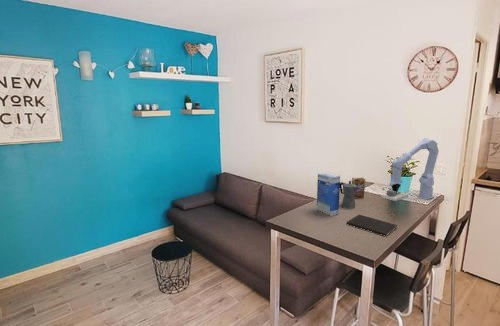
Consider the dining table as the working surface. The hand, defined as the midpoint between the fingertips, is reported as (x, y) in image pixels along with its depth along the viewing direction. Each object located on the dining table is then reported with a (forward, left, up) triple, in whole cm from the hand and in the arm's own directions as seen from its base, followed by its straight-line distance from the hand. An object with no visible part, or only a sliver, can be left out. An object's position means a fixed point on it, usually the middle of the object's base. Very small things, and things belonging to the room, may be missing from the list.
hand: (394, 193), depth 218 cm
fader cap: (+5, 0, -1) cm, 5 cm away
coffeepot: (+44, -10, -3) cm, 45 cm away
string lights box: (+65, -10, -3) cm, 65 cm away
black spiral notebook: (+61, +20, -4) cm, 64 cm away
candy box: (+24, -16, -3) cm, 29 cm away
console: (0, 0, -3) cm, 3 cm away
